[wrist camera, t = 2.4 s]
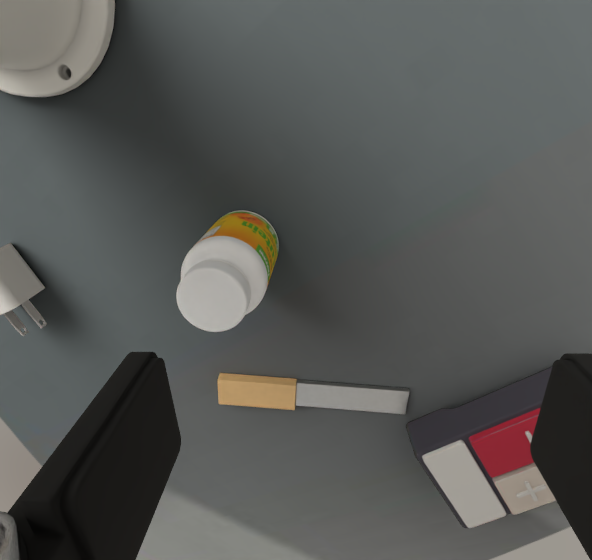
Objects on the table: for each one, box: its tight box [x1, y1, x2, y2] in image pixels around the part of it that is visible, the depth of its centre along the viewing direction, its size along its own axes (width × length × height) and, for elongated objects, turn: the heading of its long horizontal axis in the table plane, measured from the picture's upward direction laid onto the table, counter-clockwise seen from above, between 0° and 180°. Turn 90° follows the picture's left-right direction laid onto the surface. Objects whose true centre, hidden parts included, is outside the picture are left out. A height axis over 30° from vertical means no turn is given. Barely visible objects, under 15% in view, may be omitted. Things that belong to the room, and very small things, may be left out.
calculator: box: [406, 367, 556, 528], centre depth 35 cm, size 11×4×15 cm
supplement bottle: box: [176, 210, 279, 332], centre depth 26 cm, size 5×5×10 cm
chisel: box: [217, 373, 410, 414], centre depth 36 cm, size 17×3×1 cm, turn 88°
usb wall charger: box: [0, 243, 47, 336], centre depth 32 cm, size 4×7×4 cm, turn 25°
